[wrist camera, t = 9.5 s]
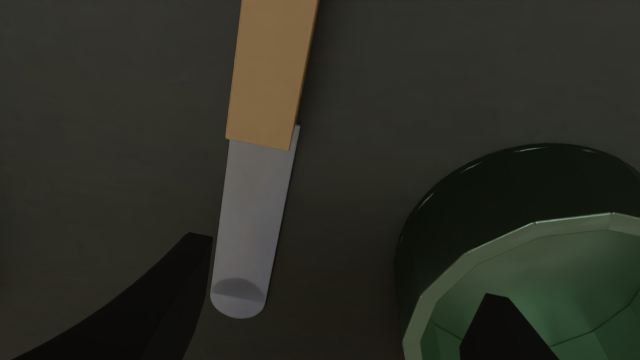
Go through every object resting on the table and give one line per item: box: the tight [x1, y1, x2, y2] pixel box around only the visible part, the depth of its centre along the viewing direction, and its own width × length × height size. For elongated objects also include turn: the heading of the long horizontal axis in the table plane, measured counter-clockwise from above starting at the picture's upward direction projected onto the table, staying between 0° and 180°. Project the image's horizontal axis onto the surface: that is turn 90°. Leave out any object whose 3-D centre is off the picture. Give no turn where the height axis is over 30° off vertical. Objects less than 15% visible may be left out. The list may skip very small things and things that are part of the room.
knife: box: [210, 0, 320, 319], centre depth 22 cm, size 18×3×3 cm, turn 169°
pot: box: [394, 143, 640, 360], centre depth 22 cm, size 12×12×5 cm
